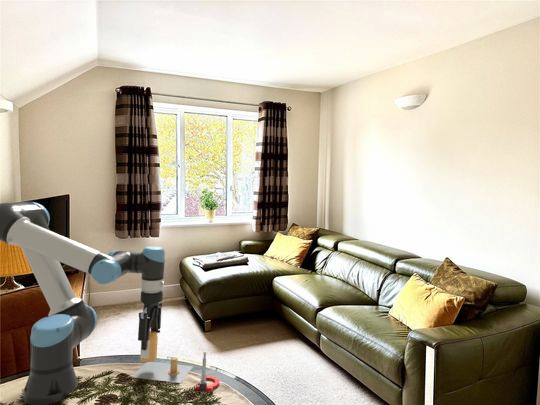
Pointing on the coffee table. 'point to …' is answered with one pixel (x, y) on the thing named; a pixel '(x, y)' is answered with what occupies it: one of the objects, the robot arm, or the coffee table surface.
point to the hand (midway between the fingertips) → (148, 354)
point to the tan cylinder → (151, 347)
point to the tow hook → (203, 384)
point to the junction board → (163, 371)
